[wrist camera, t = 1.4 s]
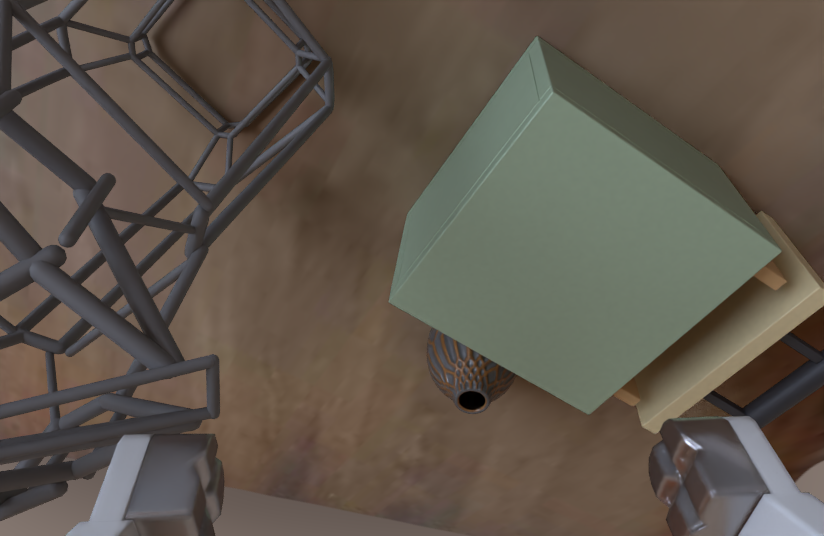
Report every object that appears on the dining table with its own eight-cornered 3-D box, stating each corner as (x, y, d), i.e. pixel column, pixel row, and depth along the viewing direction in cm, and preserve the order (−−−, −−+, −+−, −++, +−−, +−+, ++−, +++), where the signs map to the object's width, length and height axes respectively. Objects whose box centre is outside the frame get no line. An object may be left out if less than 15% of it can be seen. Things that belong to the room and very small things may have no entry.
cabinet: (718, 165, 42) (783, 251, 33) (569, 312, 49) (588, 415, 40) (536, 35, 38) (552, 91, 29) (406, 214, 46) (387, 302, 37)
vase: (437, 358, 53) (429, 440, 45) (423, 290, 49) (412, 366, 42) (521, 352, 52) (527, 435, 44) (514, 282, 48) (519, 359, 41)
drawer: (835, 262, 44) (906, 346, 36) (686, 381, 50) (720, 472, 43) (615, 106, 39) (645, 166, 32) (484, 259, 46) (484, 337, 39)
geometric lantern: (233, 197, 46) (-197, 785, 17) (52, 16, 40) (-1076, 440, 11) (400, 65, 40) (172, 637, 11) (214, -173, 34) (-1396, -333, 5)
